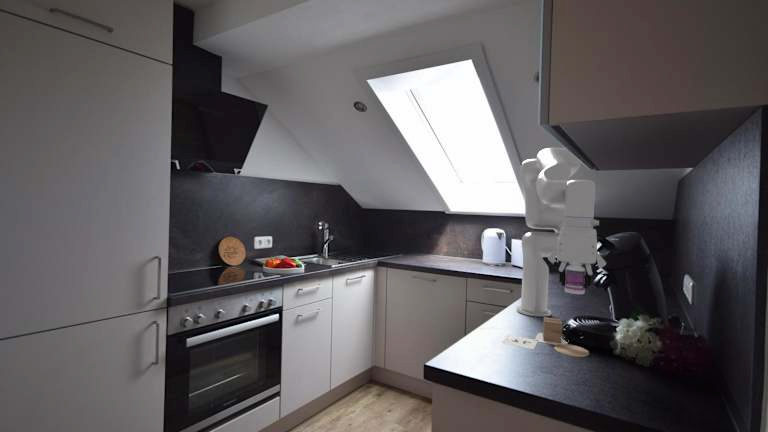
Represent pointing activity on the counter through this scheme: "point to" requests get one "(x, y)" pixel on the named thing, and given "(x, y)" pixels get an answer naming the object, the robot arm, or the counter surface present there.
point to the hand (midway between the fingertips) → (574, 286)
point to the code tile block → (540, 339)
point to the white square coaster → (520, 342)
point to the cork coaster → (571, 350)
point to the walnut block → (552, 330)
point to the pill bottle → (575, 278)
